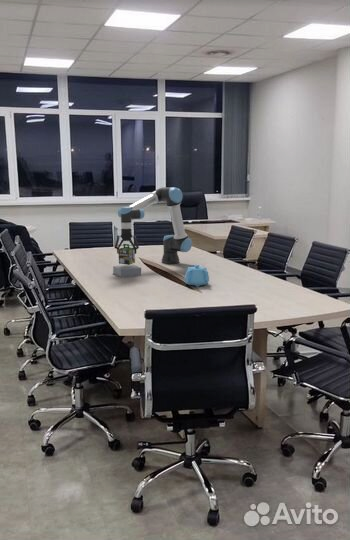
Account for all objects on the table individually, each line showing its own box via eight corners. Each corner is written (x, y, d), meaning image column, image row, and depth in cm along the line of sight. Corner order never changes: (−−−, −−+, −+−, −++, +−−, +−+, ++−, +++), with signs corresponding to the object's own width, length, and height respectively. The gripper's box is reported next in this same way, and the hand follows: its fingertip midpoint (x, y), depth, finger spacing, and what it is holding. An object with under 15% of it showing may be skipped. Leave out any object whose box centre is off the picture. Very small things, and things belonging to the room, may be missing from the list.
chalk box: (135, 263, 367) (135, 243, 364) (129, 265, 358) (129, 244, 356) (124, 261, 370) (124, 242, 368) (118, 263, 362) (118, 243, 359)
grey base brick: (113, 273, 369) (113, 266, 368) (133, 272, 377) (133, 264, 375) (120, 277, 355) (120, 269, 354) (141, 275, 363) (141, 267, 361)
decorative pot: (183, 287, 324) (183, 267, 322) (185, 281, 340) (185, 262, 337) (208, 287, 323) (208, 267, 320) (209, 282, 338) (209, 263, 336)
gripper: (109, 228, 357) (110, 258, 361) (140, 228, 355) (141, 259, 359) (112, 227, 364) (112, 257, 368) (142, 227, 362) (143, 257, 366)
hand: (126, 258), depth 364 cm, fingers closed on chalk box, 10 cm apart
